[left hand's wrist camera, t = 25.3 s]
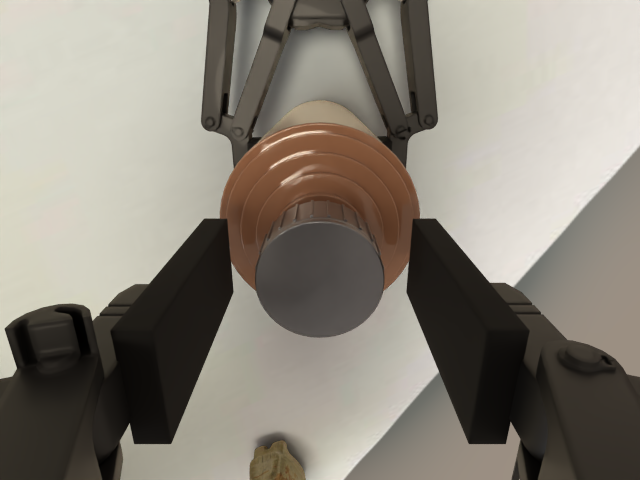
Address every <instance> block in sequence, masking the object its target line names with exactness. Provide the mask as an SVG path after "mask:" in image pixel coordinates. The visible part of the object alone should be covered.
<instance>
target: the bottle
mask: <svg viewBox="0 0 640 480" xmlns="http://www.w3.org/2000/svg"><path fill="white" fill-rule="evenodd" d="M311 200H314V201H327V200H329V202H333V203H337V204H340V205H342V204H344V205H345V207H347V208H349V209H351V210H352V211H354V212H358V215H359V216H360V217H361V218H362V219H363V220H364V222H365V223H366V222H367V223H368V225H369V228H370V231H371V233H372V235H373V234H374V235H375V238H376V241H377V244H378V247H379V249H380V252H381V255H380V257H381V260H382V262H383V265H384V290H385V289H386V288H388V287H389V286H390V285H391V284H392V283H393V282H394V281H395V280H396V278H397V277H398V276H399V275H400V274H401V272H402V271H403V270H404V268H405V266H406V265H407V263H408V262H409V257H410V245H411V233H412V221H413V219H420V210H419V201H418V197H417V193H416V189H415V187H414V184H413V182H412V179H411V177H410V175H409V174H408V172H407V170H406V168H405V167H404V165H403V164H402V163H401V161H400V160H399V159H398V158H397V156H396V155H395V154H394V153H393V152H392V151H391V150H390V149H389V148H388V147H387V146H386V145H385V144H384V143H383V142H382V141H381V140H379V139H378V138H377V137H376V136H375V135H374V134H373V133H372V132H371V131H370V130H369V129H368V128H367V127H366V126H365V125H364V124H363V123H362V122H361V121H360V120H359V119H358V118H357V117H356V116H355V115H354V114H353V113H352V112H351V111H349V110H348V109H347V108H345V107H343V106H342V105H340V104H337V103H334V102H330V101H324V100H316V101H309V102H306V103H303V104H300V105H298V106H296V107H295V108H293V109H292V110H290V111H289V112H288V113H287V114H286V115H285V116H284V117H283V118H282V119H281V120H280V121H279V122H278V123H277V124H276V125H275V126H274V127H272V128H271V129H270V130H269V131H268V132H267V133H266V134H265V135H264V136H263V137H262V138H261V139H260V140H259V141H258V142H257V143H256V144H255V145H254V146H253V147H252V148H251V149H250V150H249V151H248V152H247V153H246V154H245V155H244V156H243V157H242V158H241V160H240V161H239V162H238V163H237V165H236V166H235V168H234V170H233V171H232V173H231V175H230V176H229V179H228V181H227V183H226V186H225V188H224V192H223V196H222V199H221V207H220V219H227V221H228V233H229V245H230V257H231V262H232V264H233V265H234V267H235V269H236V270H237V272H238V273H239V274H240V275H241V276H242V278H243V279H244V280H245V281H246V282H247V283H248V284H249V285H250V286H251V287H252V288H253V289H254V290H256V286H255V272H256V269H255V266H256V263H257V261H258V258H259V251H260V248H261V245H262V242H263V240H264V237H265V234H268V232H269V230H270V227H271V224H272V222H273V221H274V222H275V221H276V220H277V219H278V218H279V217H280V216H281V215H282V212H283V211H285V212H286V211H287V210H289V209H291V208H293V207H295V206H296V204H303V203H306V202H311ZM384 290H383V291H384Z"/></svg>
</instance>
